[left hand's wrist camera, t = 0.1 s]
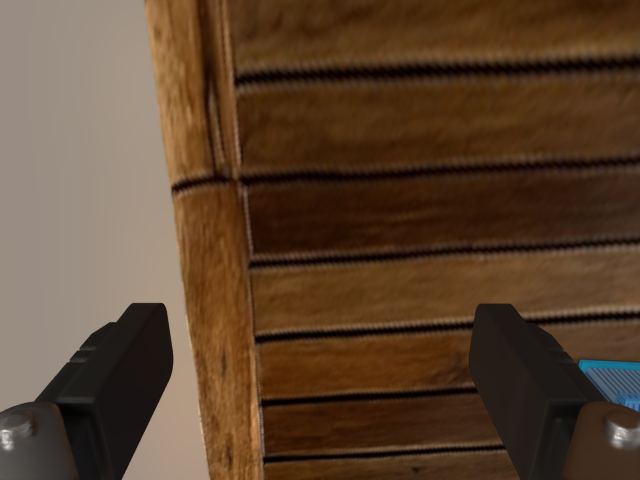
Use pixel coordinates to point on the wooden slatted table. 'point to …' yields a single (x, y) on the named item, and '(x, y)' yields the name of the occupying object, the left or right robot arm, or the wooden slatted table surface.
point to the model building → (615, 380)
